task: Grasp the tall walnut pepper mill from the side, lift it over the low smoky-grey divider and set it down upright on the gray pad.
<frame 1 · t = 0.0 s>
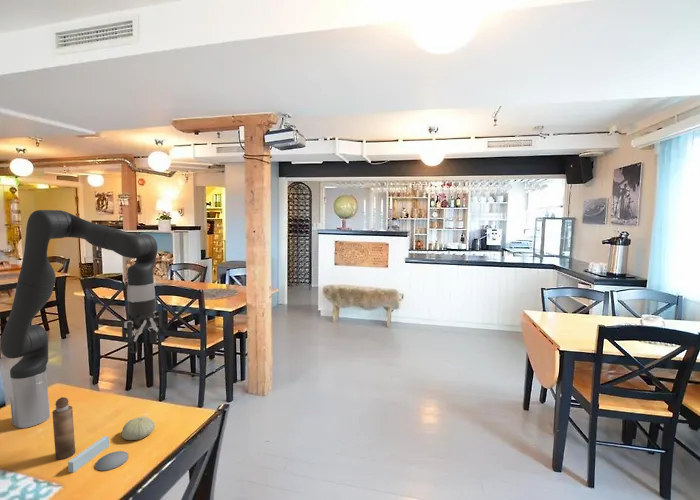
hand: (143, 347, 115), 29 cm above the table, tool pointing down, fingers open, 8 cm apart
divider: (90, 458, 106), on the table
pepper mill: (65, 454, 107), on the table
gray pad: (112, 461, 105), on the table
sea urchin shell: (138, 434, 118), on the table
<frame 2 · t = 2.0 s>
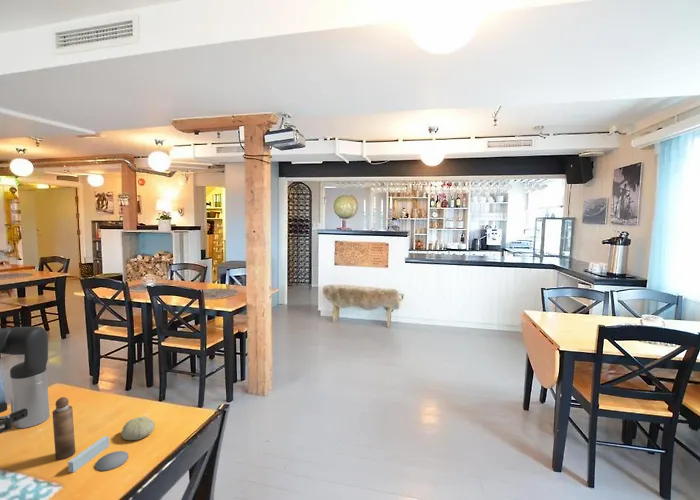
hand: (16, 408, 95), 20 cm above the table, tool horizontal, fingers open, 8 cm apart
nothing on the table moved.
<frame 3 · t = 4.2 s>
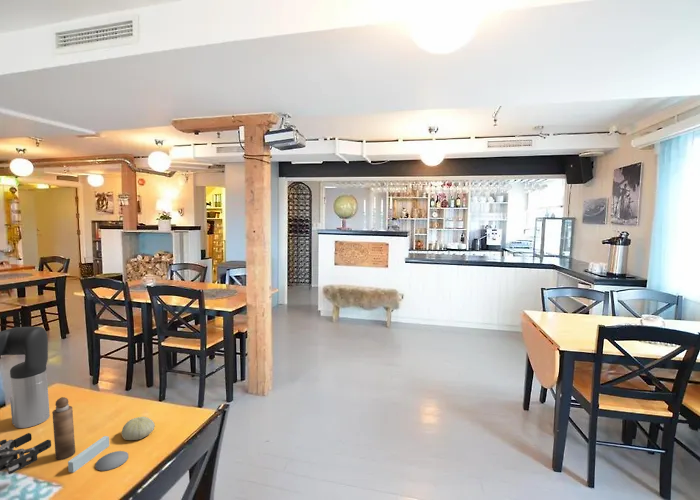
hand: (40, 439, 101), 8 cm above the table, tool horizontal, fingers open, 8 cm apart
nothing on the table moved.
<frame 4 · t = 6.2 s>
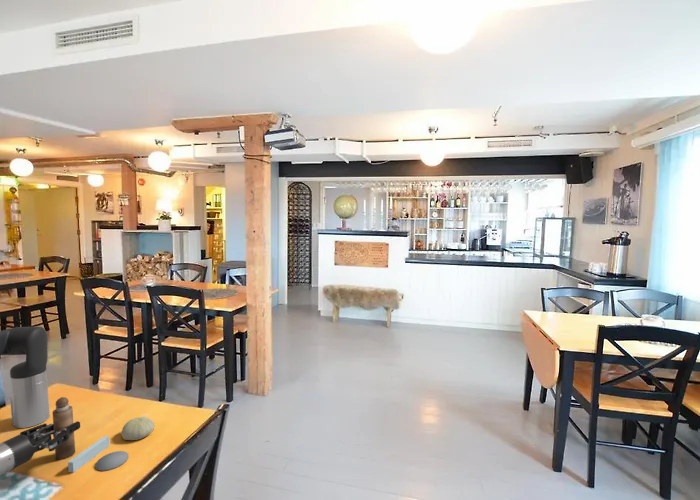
hand: (73, 422, 109), 9 cm above the table, tool horizontal, fingers closed on pepper mill, 4 cm apart
pepper mill: (65, 454, 107), on the table, touching gripper
everything else where it was.
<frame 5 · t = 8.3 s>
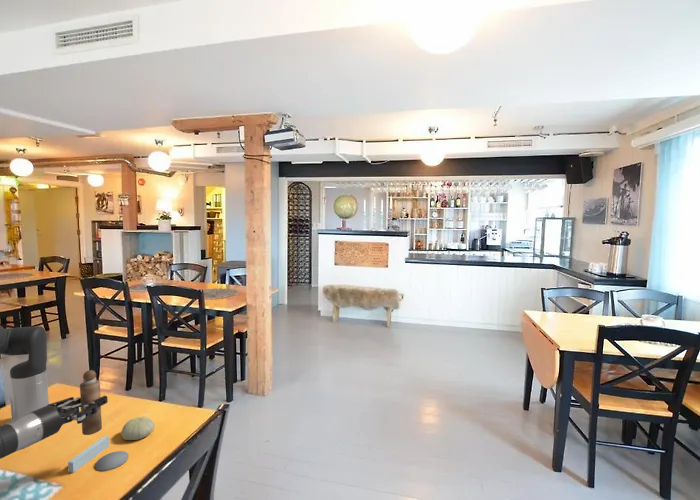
hand: (100, 397, 105), 18 cm above the table, tool horizontal, fingers closed on pepper mill, 4 cm apart
pepper mill: (92, 430, 104), point 10 cm above the table, touching gripper
everything else where it was.
when the fingers open (10 cm above the table, at t = 10.6 s): pepper mill drops 1 cm, resting on gray pad.
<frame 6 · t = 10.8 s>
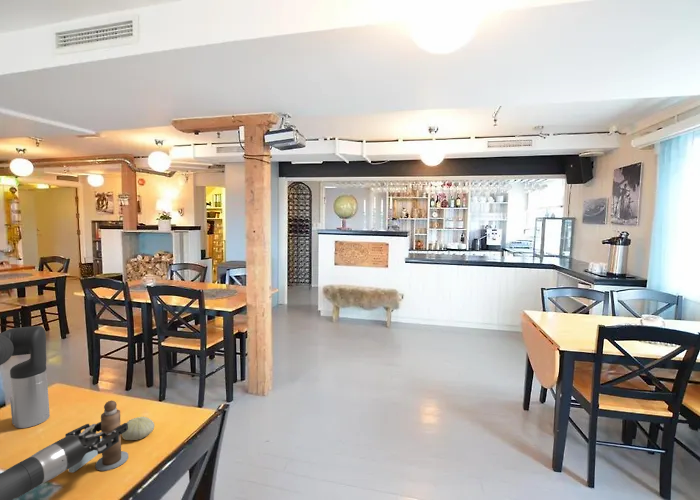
hand: (118, 423, 106), 10 cm above the table, tool horizontal, fingers open, 6 cm apart
pepper mill: (111, 460, 104), resting on gray pad
everything else where it was.
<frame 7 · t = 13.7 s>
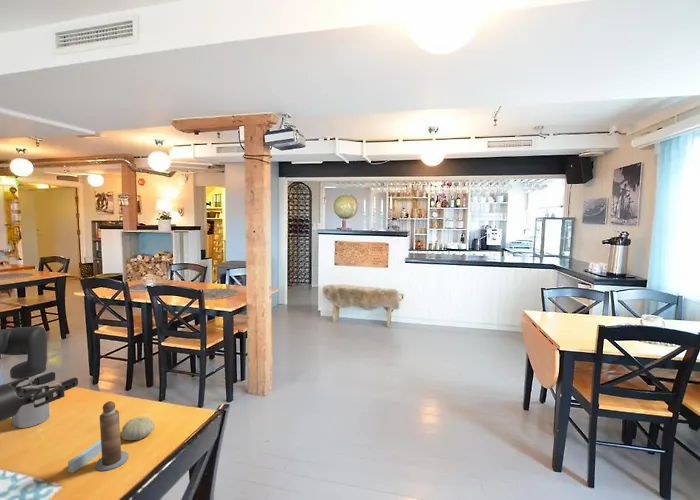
hand: (65, 378, 92), 30 cm above the table, tool horizontal, fingers open, 8 cm apart
nothing on the table moved.
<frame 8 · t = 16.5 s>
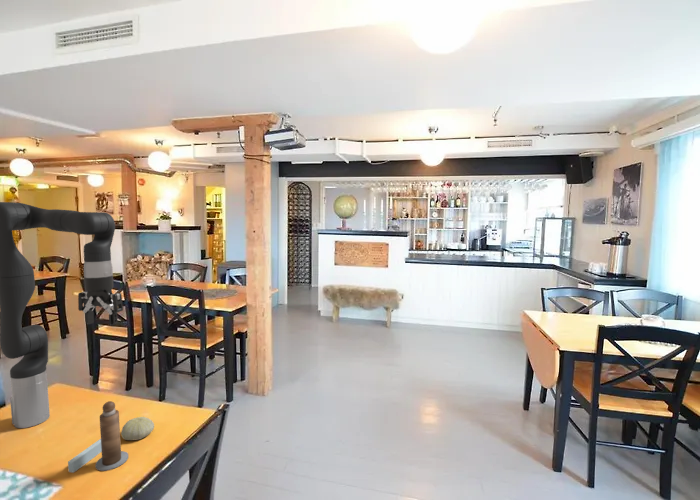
hand: (101, 324, 116), 36 cm above the table, tool pointing down, fingers open, 8 cm apart
nothing on the table moved.
at the end: pepper mill inside the target area on the gray pad (0.1 cm from its centre), point 0.4 cm above the gray pad's base; pepper mill tilted 0°; the gripper is holding nothing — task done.
